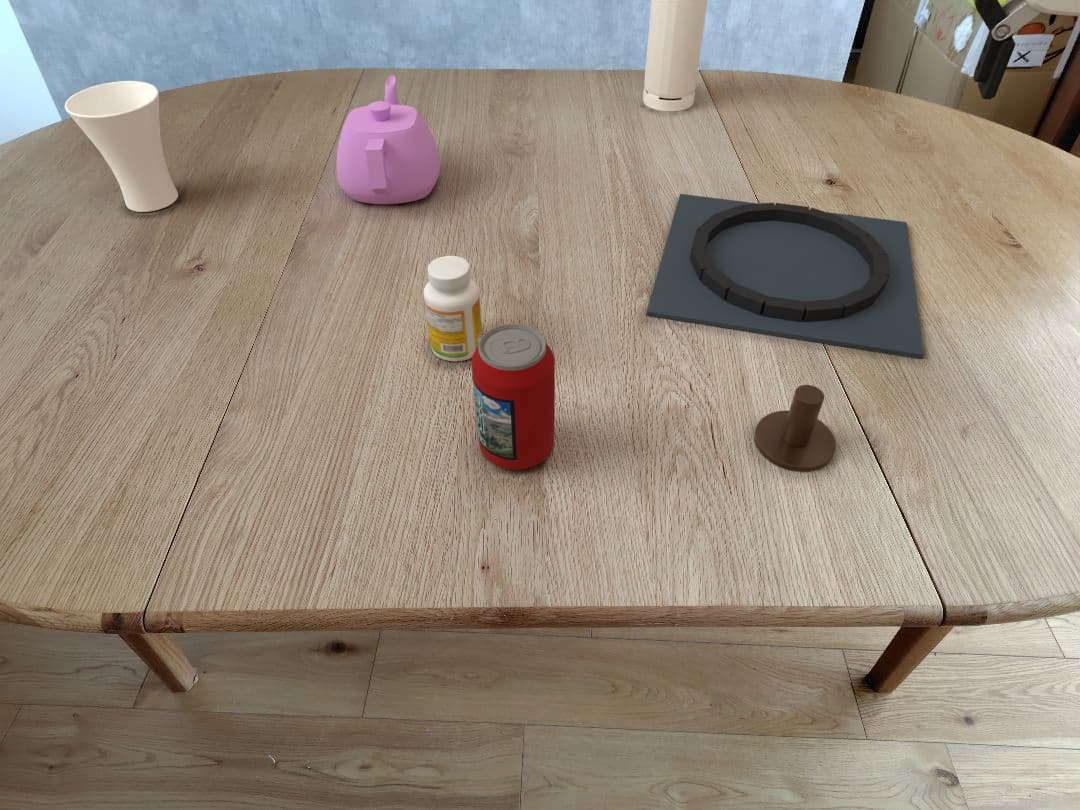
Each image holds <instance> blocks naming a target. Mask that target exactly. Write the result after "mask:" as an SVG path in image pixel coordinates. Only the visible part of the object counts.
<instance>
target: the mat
mask: <svg viewBox="0 0 1080 810" xmlns="http://www.w3.org/2000/svg"><path fill="white" fill-rule="evenodd" d="M747 204H759V203H757V202H750V201H741V200H734V199H725V198H719V197H718V198H717V197H710V196H703V195H694V194H686V193H679V196H678V200H677V203H676V207H675V211H674V214H673V218H672V221H671V225H670V228H669V231H668V235H667V239H666V242H665V246H664V249H663V252H662V257H661V259H660V262H659V266H658V270H657V274H656V278H655V281H654V284H653V287H652V290H651V291H652V292H651V295H650V298H649V302H648V305H647V309H646V314H645V315H646V316H648V317H653V318H659V319H667V320H672V321H680V322H686V323H693V324H698V325H704V326H705V325H706V326H711V327H717V328H723V329H730V330H736V331H742V332H750V333H755V334H762V335H769V336H775V337H781V338H787V339H793V340H800V341H807V342H812V343H819V344H825V345H831V346H838V347H845V348H849V349H850V348H851V349H857V350H862V351H869V352H877V353H882V354H889V355H896V356H901V357H907V358H912V359H913V358H914V359H920V360H922V359H923V357H924V355H925V353H924V346H923V345H924V344H923V339H922V330H921V322H920V315H919V307H918V298H917V291H916V283H915V276H914V270H913V269H914V267H913V261H912V252H911V244H910V237H909V230H908V229H909V228H908V222H907V221H901V220H895V219H894V220H893V219H885V218H877V217H869V216H861V215H853V214H845V213H838V212H831V211H829V212H828V211H826V212H827V213H830V214H833V215H836V216H839V217H842V218H843V219H846V220H848V221H850V222H851V223H853V224H855V225H856V226H858V227H860V228H861V229H863V230H865V231H866V232H868V233H869V234H870V235H872V236H873V237H874V239H875V240H876V241H877V242H878V244H879V245H880V246H881V247H882V248H883V250H884V251H885V252H886V253H887V256H888V262H889V273H890V276H889V279H888V281H887V284H886V287H885V289H884V290H883V292H882V293H881V294H880V295H879V297H878V298H877V299H876V301H875V302H874V303H873V305H872V306H871V305H870V307H869V308H866V309H864V310H862V311H859V312H857V313H855V314H852V315H850V316H848V317H845V318H840V319H835V320H823V321H812V322H804V321H803V319H802V321H801V322H797V321H790V320H784V319H777V318H771V317H764V316H763V312H762V313H761V315H757V314H755V313H752V312H750V311H747V310H745V309H742V308H740V307H737V306H735V305H732V304H730V303H728V302H726V300H727V299H726V300H723V299H721V298H720V297H719V296H718V295H716V294H715V293H714V292H713V291H711V290H710V289H709V288H708V287H706V286H705V285H704V284H703V283H701V281H700V280H699V278H698V276H697V274H696V272H695V270H694V268H693V266H692V263H691V261H690V256H691V249H692V245H693V240H694V236H695V232H696V230H697V228H698V227H699V226H701V225H702V224H703V223H704V222H705V221H706V220H708V219H709V218H710V217H711V216H712V215H715V214H716V213H719V212H722V211H725V210H728V209H731V208H734V207H737V206H742V205H747ZM843 219H842V220H843ZM706 250H707V252H708V254H709V256H710V258H711V260H712V262H713V264H714V266H715V268H717V269H718V270H719V271H721V272H722V273H723V274H724V275H726V276H727V277H728V278H730V279H731V280H732V281H734V282H735V283H736V284H739V285H741V286H744V287H746V288H749V289H751V290H754V291H756V292H759V293H762V294H764V295H767V296H771V297H778V298H784V299H791V300H798V301H814V300H826V299H837V298H839V297H842V296H844V295H846V294H849V293H851V292H854V291H856V290H859V289H861V288H862V287H863V286H864V285H865V284H866V282H867V281H868V280H869V279H870V270H869V265H868V263H867V262H866V261H865V260H864V258H863V257H862V256H861V254H860V253H859V252H858V250H857V249H856V248H855V247H853V246H851V245H850V244H848V243H847V242H845V241H844V240H842V239H840V238H839V237H837V236H836V235H834V234H832V233H829V232H826V231H823V230H820V229H817V228H814V227H811V226H808V225H805V224H799V223H791V222H783V221H776V220H773V221H760V222H747V223H743V224H740V225H737V226H734V227H731V228H728V229H725V230H722V231H721V232H720V233H719V234H718V235H717V236H715V237H714V238H713V239H712V240H711V241H710V242H709V243H708V244H707V249H706Z"/></svg>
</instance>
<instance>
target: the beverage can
mask: <svg viewBox="0 0 1080 810" xmlns="http://www.w3.org/2000/svg"><path fill="white" fill-rule="evenodd" d="M482 335H483V336H482V337H481V339H480V341H479V345H478V347H477V349H476V350H475V352H474V354H473V356H472V357H471V360H470V361H471V375H472V385H473V397H474V399H473V400H474V409H475V420H476V428H477V436H478V446H479V450H480V452H481V454H482V456H483V457H484V458H485V459H486V460H487V461H488V462H490V463H491V464H493V465H495V466H497V467H499V468H502V469H507V470H523V469H529V468H533V467H534V466H537V465H539V464H540V463H542V462H543V461H544V460H546V459H547V458H548V457H549V455H550V454H551V453H552V451H553V448H554V445H555V420H556V419H555V415H556V414H555V406H556V401H555V399H556V391H555V390H556V383H555V382H556V377H555V375H556V372H555V371H556V370H555V368H556V367H555V365H556V363H555V362H556V360H555V354H554V353H553V351H552V348H550V346H549V344H548V343H547V341H546V339H545V337H544V335H543V333H542V332H540V331H539V330H538V329H536V328H535V327H533V326H529V325H527V324H523V323H522V324H521V323H505V324H501V325H497V326H494V327H492V328H490V329H489V330H487V331H486V332H484V334H482Z"/></svg>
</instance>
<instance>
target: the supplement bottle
mask: <svg viewBox="0 0 1080 810" xmlns="http://www.w3.org/2000/svg"><path fill="white" fill-rule="evenodd" d="M471 273H472V272H471V265H470V263H469V261H468V260H467V259H465V258H463V257H462V256H458V255H443V256H440V257H437V258H435V259H433V260H432V261H431V262H429V264H428V266H427V279H428V281H427V283H426V284H425V286H424V288H423V302H424V309H425V317H426V321H427V322H426V323H427V328H428V330H427V331H428V335H429V337H428V338H429V344H430V348H431V351H432V353H433V354H434V355H435V356H437V358H439V359H442V360H444V361H449V362H463V361H467V360H470V359H472V356H473V354H474V352H475V350H476V349H477V347H478V345H479V341H480V339H481V337H482V336H483V335H484V334H483V327H482V313H481V299H480V291H479V286H478V284H477V282H476V281H475V280H474V279H473V278H472V277H471V276H472V275H471Z"/></svg>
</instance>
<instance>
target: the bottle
mask: <svg viewBox="0 0 1080 810" xmlns="http://www.w3.org/2000/svg"><path fill="white" fill-rule="evenodd" d="M707 7H708V0H650V11H649V23H648V34H647V46H646V56H645V70H644V78H643V79H644V80H643V85H644V87H643V92H642V103H643V104H644V105H645V106H646V107H648V108H650V109H652V110H655V111H662V112H681V111H685V110H688V109H689V108H691V107H692V106H693V105H694V103H695V96H696V92H695V90H696V87H697V80H698V73H699V65H700V58H701V52H702V51H701V50H702V44H703V42H702V41H703V37H704V28H705V20H706V14H707ZM661 98H662V99H661ZM668 99H669V100H668ZM672 99H675V100H672Z"/></svg>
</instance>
